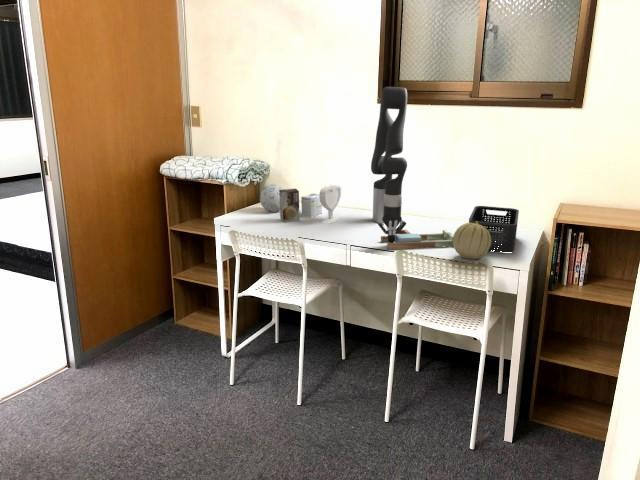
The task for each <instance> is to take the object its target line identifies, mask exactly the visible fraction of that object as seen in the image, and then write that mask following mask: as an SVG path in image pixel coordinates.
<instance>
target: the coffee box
mask: <svg viewBox="0 0 640 480" xmlns="http://www.w3.org/2000/svg"><path fill="white" fill-rule="evenodd" d="M299 192H300V190H298V189H297V188H285V189H284V188H283V190H279V196H280V211H279V215H280V217H279V218H280V221H281V222H282V223H283V222H284V223H291V222H293V223H294V222H300V220H301V219H300V217H301V215H300V214H301V213H300V193H299Z"/></svg>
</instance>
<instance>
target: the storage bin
mask: <svg viewBox="0 0 640 480" xmlns="http://www.w3.org/2000/svg"><path fill="white" fill-rule="evenodd" d="M487 211H494V212H495V211H496V212H506V213H505V215H501V214H491V213H488V212H487ZM519 213H520V210H519V209H518V208H514V207H513V208H511V207H510V208H509V207H501V206H500V207H498V206H487V205H475V206H474V208H473V210H472V212H471V213H470V216H469V218H468V223H476V221H477V222H478V224H479V225H482V226H483V227H485V228H486V229H487V230H488V231H489V233H490V236H491V245H490V248H489V250H488V251H491V250H492V251H493V250H495V251H494V252H500V251H502V252H513V251H514V252H515V246H516V240H517V230H518V229H517V228H518V222H519ZM495 241H496V242H495ZM501 244H502V245H501ZM498 246H499V247H498ZM494 248H495V249H494ZM497 248H498V249H497ZM494 252H493V253H494ZM514 252H513V253H514Z"/></svg>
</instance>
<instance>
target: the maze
mask: <svg viewBox="0 0 640 480" xmlns="http://www.w3.org/2000/svg"><path fill="white" fill-rule="evenodd" d="M399 234H412V233H411V232H410V231H409V230H407V229H402V230H401V231H400V233H399ZM418 234H419V233H418ZM419 235H420V236H421V237H422V239H421V241H420V242H400V243H395V242H393V243H389V242H388V235H381V236H380V243H387V247H386V248H387V250H389V251H390V250H391V251H393V250H399V249H398V248H406V249H407V250H409V249H426V248H425V247H431V248H443V247H442V246H452V247H454V246H453V236H454V234H452V233H451V231H449V230H447V229H442V232H439V233H437V232H435V233H421V234H419ZM439 239H440V240H439ZM406 249H405V250H406Z"/></svg>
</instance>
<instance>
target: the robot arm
mask: <svg viewBox="0 0 640 480" xmlns="http://www.w3.org/2000/svg"><path fill="white" fill-rule="evenodd" d="M407 104H408V91H407V88H406V87H401V86H400V87H399V86H385V87H383V89H382V91H381V96H380V106H379V107H380V108H379V118H378V124H377V129H376V134H375V135H376V136H375V142H374V149H373V153H372V158H371V162H370V163H371V165H370V170H371V173H372V174H373V175H377V176H378V175H379V176H380V175H384V177H382V178H381V179H378V180H376V181H374V182H373V191H372V192H373V197H372V221H373V222H376V224H377V225H378V227H379V228H380V229H381V230H382V232H383V233H384V234H385V235H387V236H388V242H387V243H395V242H394V241H395V234H399V233H400V231H401V230H404V228H405V227H406V225H407V222H406V221H405V220H403V219H402V204H403V202H402V191H403V190H402V187H403V182H404V181H403V180H404V177H405V174H406V171H407V167H408V161H407V159H406V158H404V157H393V156H396V155H399V154H401V153H403V150H404V130H405V129H404V128H405V122H406V114H407V106H408V105H407ZM389 110H398V113H397V116H396V118H395V119H394V120H393V118H392V117H391V116H390V112H389ZM393 175H397V176H396V177H394V178H393ZM384 224H385V226H386V228H385V227H384Z"/></svg>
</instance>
